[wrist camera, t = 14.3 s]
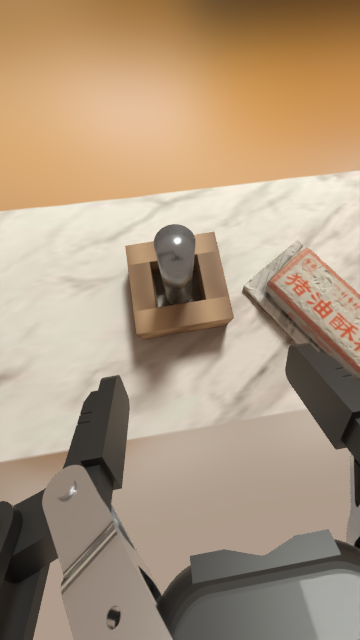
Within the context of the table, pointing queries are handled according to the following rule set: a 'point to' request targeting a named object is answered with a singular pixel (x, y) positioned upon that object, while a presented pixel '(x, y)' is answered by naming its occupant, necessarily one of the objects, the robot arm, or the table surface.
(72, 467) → the robot arm
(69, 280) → the table surface
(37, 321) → the table surface
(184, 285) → the steel rod
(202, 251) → the wooden frame
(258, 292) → the packaged product
